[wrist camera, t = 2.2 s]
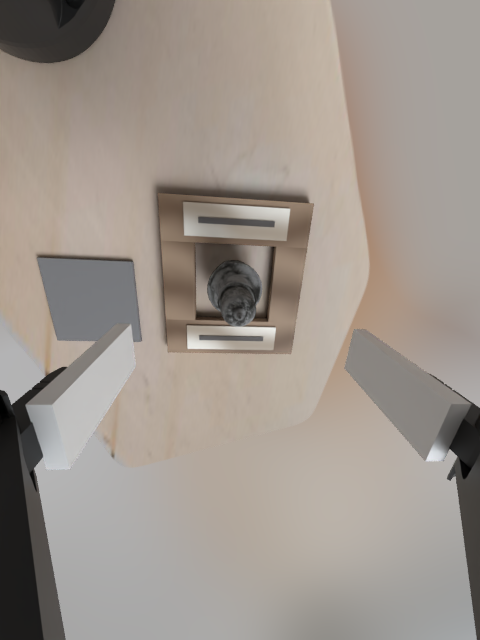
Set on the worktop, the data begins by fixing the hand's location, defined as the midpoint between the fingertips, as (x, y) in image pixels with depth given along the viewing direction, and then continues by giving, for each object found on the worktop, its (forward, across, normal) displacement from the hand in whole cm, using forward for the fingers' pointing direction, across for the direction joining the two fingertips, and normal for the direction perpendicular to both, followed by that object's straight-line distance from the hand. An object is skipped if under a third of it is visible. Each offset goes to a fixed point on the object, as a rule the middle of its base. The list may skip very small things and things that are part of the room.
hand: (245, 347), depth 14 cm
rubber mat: (+16, -17, -2) cm, 23 cm away
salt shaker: (+16, 0, 0) cm, 16 cm away
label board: (+16, 0, 0) cm, 16 cm away
